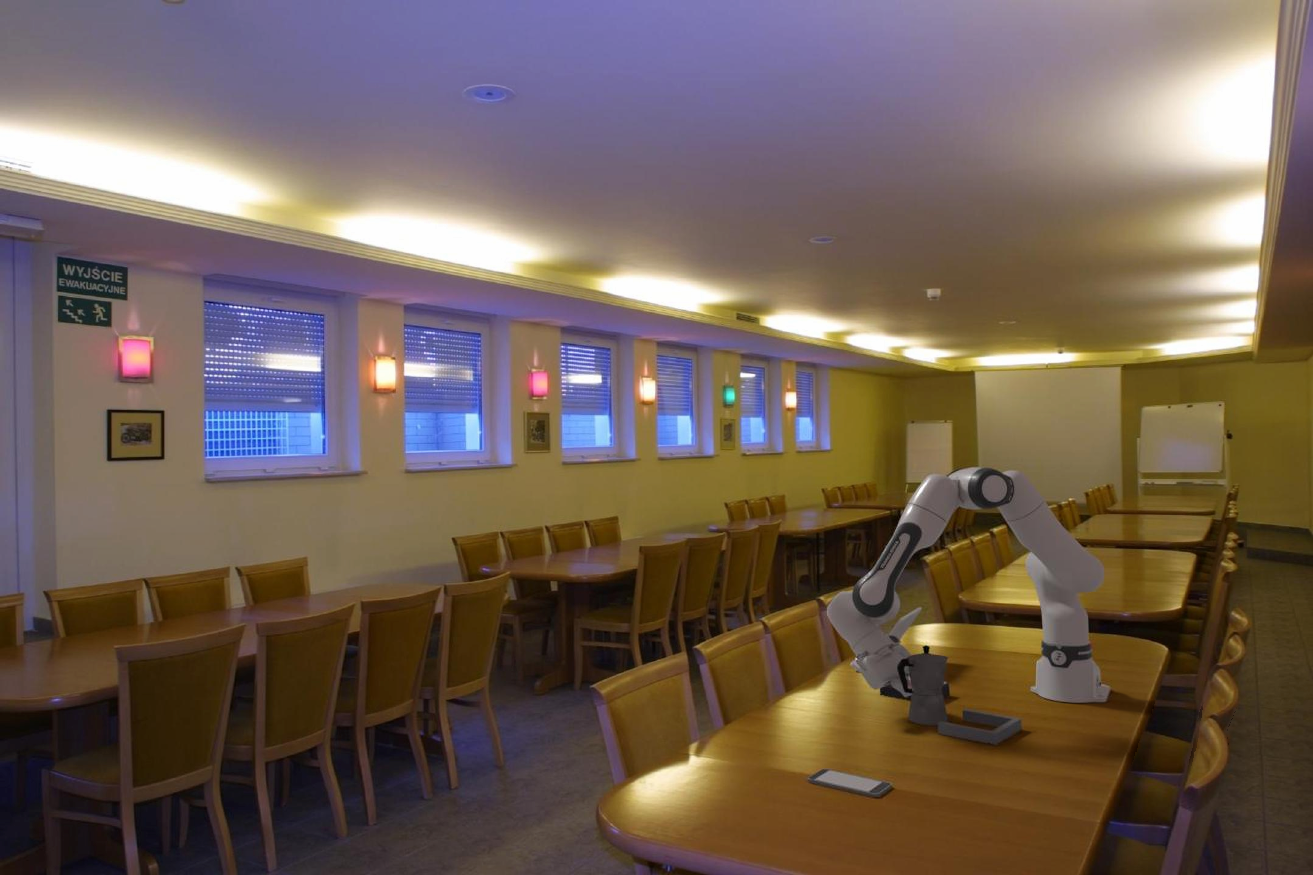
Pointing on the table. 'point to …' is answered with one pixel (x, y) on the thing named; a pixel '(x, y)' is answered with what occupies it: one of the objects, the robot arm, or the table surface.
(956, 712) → the table surface
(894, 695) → the calculator
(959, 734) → the dock
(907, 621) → the tablet stand
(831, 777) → the smartphone
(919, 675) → the coffeepot
